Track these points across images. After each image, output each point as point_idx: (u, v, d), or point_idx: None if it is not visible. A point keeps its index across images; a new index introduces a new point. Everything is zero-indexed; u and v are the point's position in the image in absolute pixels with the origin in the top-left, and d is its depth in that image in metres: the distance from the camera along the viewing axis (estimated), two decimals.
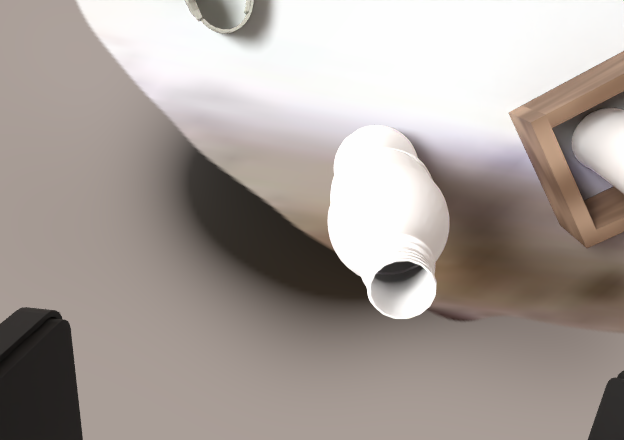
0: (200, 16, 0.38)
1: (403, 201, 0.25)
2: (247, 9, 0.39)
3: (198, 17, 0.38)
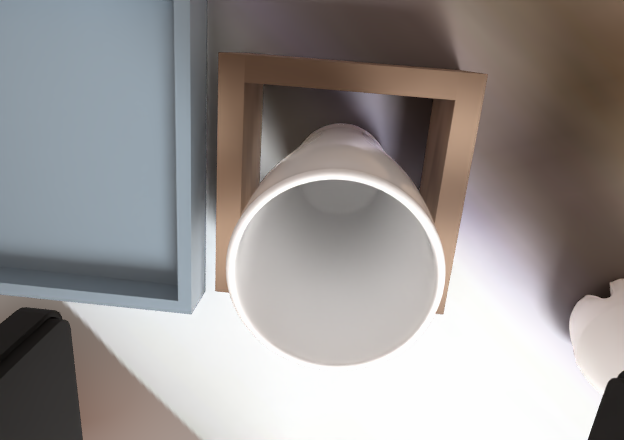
0: None
1: None
2: None
3: None
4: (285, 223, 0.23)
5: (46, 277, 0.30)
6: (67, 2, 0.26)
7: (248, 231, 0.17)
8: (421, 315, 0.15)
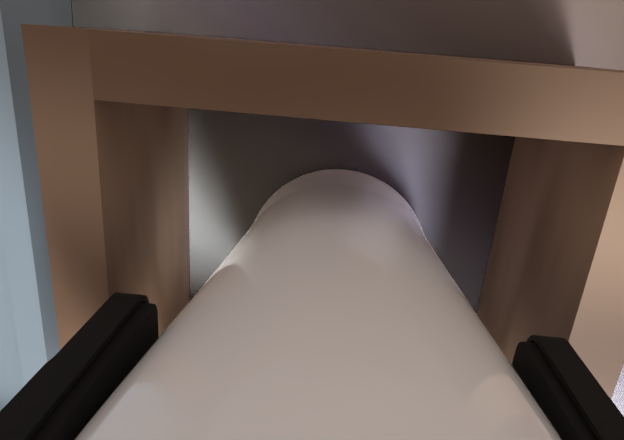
0: None
1: None
2: None
3: None
4: None
5: None
6: None
7: None
8: None
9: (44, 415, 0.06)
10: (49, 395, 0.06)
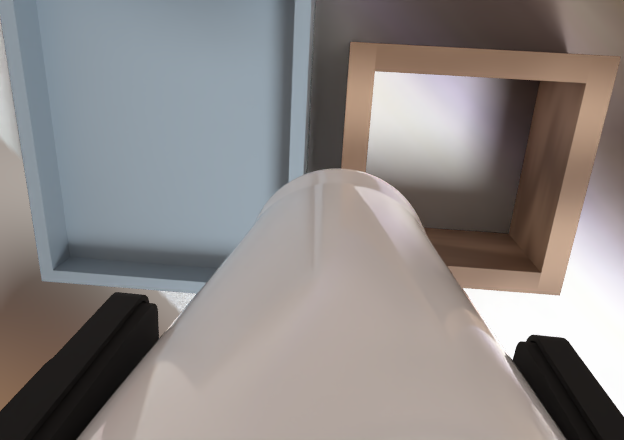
0: None
1: None
2: None
3: None
4: None
5: (150, 268, 0.31)
6: None
7: None
8: None
9: (44, 416, 0.06)
10: (49, 395, 0.06)
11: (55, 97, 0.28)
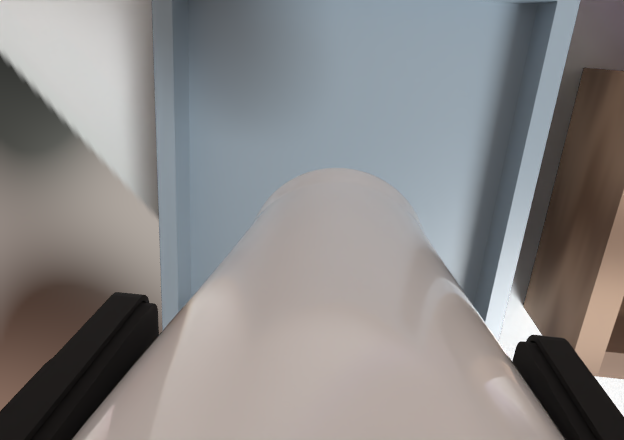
0: None
1: None
2: None
3: None
4: None
5: None
6: (379, 5, 0.20)
7: None
8: None
9: (44, 415, 0.06)
10: (49, 395, 0.06)
11: (197, 127, 0.22)
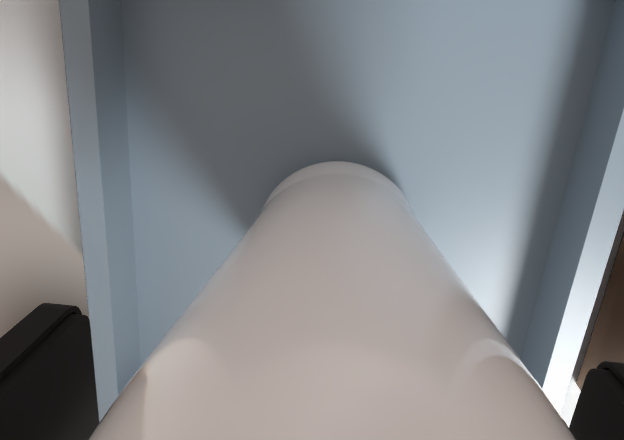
0: None
1: None
2: None
3: None
4: None
5: None
6: None
7: None
8: None
9: None
10: None
11: (140, 153, 0.16)
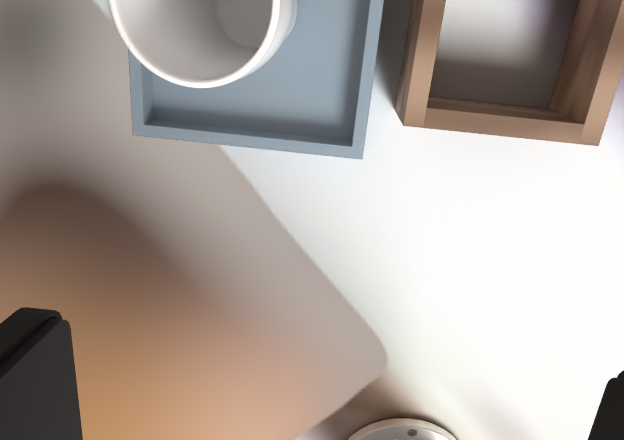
0: None
1: None
2: None
3: None
4: (193, 28, 0.27)
5: (229, 129, 0.35)
6: None
7: None
8: (265, 35, 0.19)
9: None
10: None
11: None
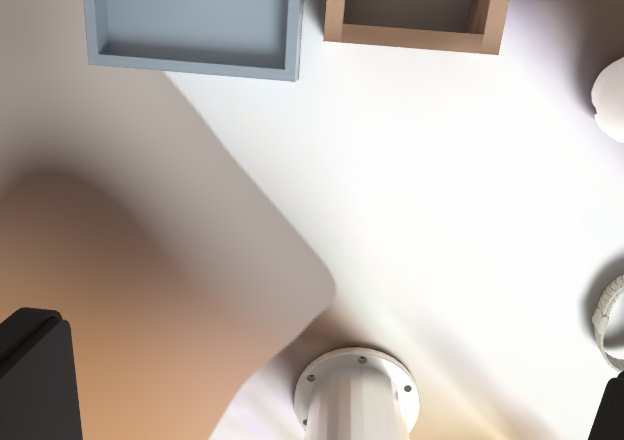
0: None
1: None
2: None
3: None
4: None
5: (176, 59, 0.38)
6: None
7: None
8: None
9: None
10: None
11: None
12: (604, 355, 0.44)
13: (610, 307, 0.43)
